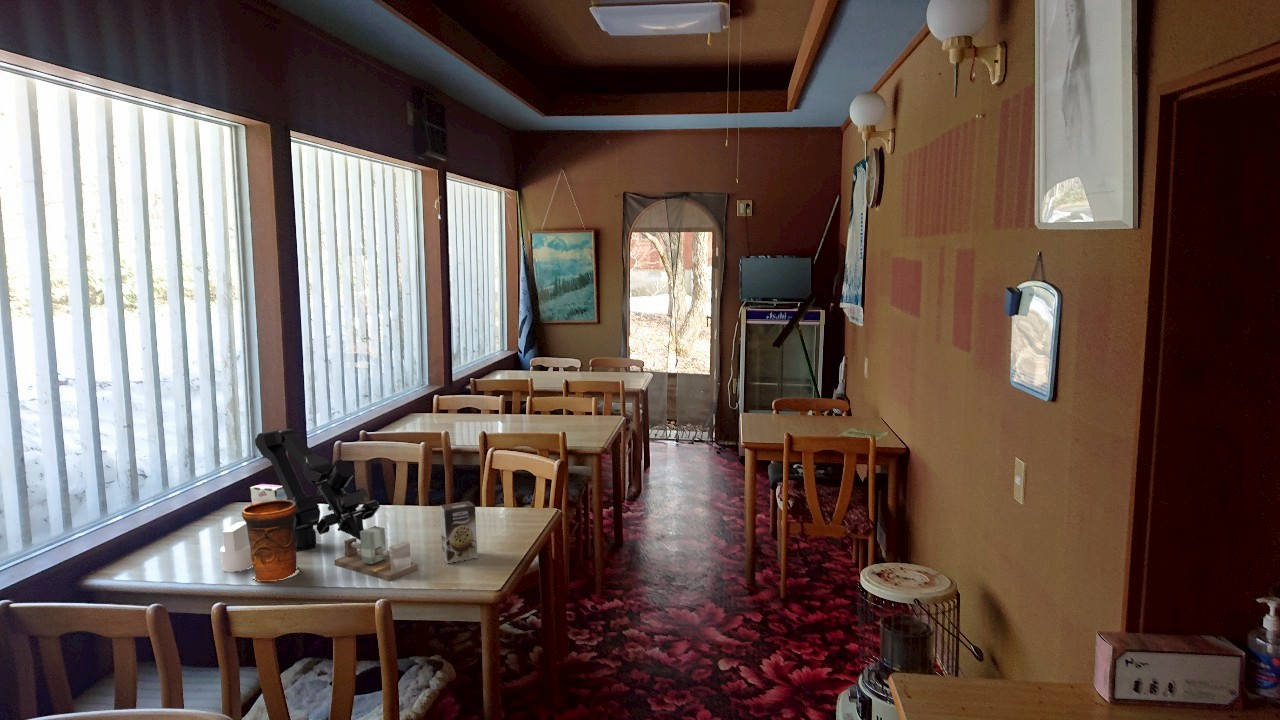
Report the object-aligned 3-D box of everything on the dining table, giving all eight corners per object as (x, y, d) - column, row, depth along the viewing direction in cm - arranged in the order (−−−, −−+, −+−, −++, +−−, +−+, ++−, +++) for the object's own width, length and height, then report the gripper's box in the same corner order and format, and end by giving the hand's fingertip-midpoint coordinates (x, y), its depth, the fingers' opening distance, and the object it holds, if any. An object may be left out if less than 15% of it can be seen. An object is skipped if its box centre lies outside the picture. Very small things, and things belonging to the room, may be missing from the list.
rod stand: (334, 565, 235) (332, 536, 234) (363, 554, 243) (361, 526, 242) (390, 581, 222) (388, 551, 221) (418, 569, 230) (416, 540, 229)
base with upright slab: (232, 560, 240) (228, 521, 239) (262, 560, 240) (258, 521, 239) (215, 572, 231) (211, 532, 230) (246, 572, 231) (243, 531, 230)
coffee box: (447, 564, 233) (444, 510, 231) (442, 557, 239) (438, 504, 237) (478, 558, 237) (475, 505, 235) (472, 551, 243) (469, 499, 241)
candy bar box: (291, 534, 263) (287, 485, 260) (279, 539, 258) (275, 489, 256) (265, 531, 267) (261, 482, 265) (253, 536, 262) (249, 486, 260)
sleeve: (362, 561, 231) (359, 531, 230) (377, 555, 236) (375, 525, 235) (371, 564, 229) (369, 533, 228) (386, 558, 234) (384, 528, 232)
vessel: (237, 585, 221) (231, 514, 219) (258, 567, 235) (254, 499, 233) (290, 583, 222) (286, 512, 220) (309, 565, 236) (305, 498, 234)
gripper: (319, 489, 227) (347, 533, 223) (373, 473, 243) (401, 514, 238) (304, 512, 232) (331, 556, 228) (358, 495, 248) (385, 536, 243)
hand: (363, 539), depth 234 cm, fingers closed
